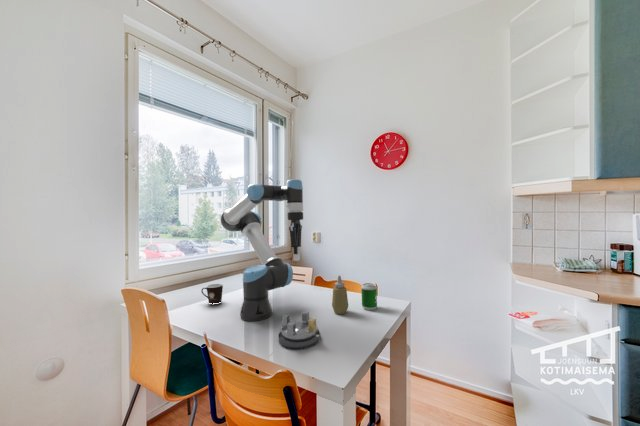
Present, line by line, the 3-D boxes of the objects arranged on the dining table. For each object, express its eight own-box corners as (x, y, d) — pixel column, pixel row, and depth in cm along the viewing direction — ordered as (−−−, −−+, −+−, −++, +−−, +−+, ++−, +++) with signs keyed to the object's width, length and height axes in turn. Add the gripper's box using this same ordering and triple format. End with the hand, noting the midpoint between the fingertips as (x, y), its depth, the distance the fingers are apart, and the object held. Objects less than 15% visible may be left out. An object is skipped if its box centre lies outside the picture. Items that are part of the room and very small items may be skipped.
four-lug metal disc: (292, 323, 111) (292, 309, 111) (322, 328, 105) (321, 313, 105) (274, 338, 98) (274, 322, 98) (307, 344, 93) (306, 327, 93)
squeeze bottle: (347, 316, 123) (346, 277, 123) (330, 315, 125) (329, 277, 125) (349, 309, 131) (348, 274, 131) (333, 309, 133) (332, 273, 133)
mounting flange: (271, 346, 97) (270, 340, 97) (289, 328, 112) (289, 323, 112) (311, 352, 92) (311, 346, 92) (325, 332, 107) (324, 326, 107)
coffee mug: (226, 302, 148) (226, 284, 148) (213, 307, 141) (212, 288, 141) (213, 299, 155) (213, 282, 155) (200, 303, 147) (199, 285, 147)
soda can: (374, 312, 127) (373, 287, 127) (359, 309, 131) (358, 285, 131) (379, 307, 134) (378, 283, 134) (365, 304, 138) (364, 282, 138)
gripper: (292, 212, 134) (293, 258, 134) (283, 212, 121) (284, 262, 121) (306, 211, 132) (307, 258, 132) (298, 211, 119) (300, 263, 119)
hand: (296, 260), depth 126 cm, fingers closed
